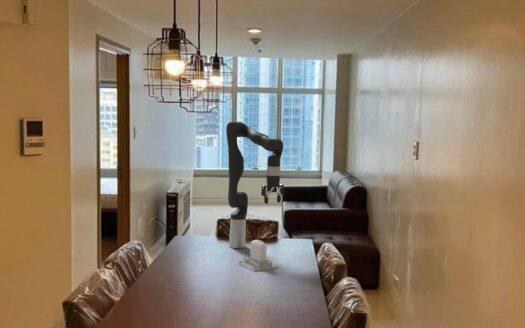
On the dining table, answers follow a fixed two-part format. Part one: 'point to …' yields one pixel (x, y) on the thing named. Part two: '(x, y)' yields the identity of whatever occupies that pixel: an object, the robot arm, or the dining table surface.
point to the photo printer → (258, 251)
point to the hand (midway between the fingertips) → (272, 203)
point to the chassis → (257, 264)
